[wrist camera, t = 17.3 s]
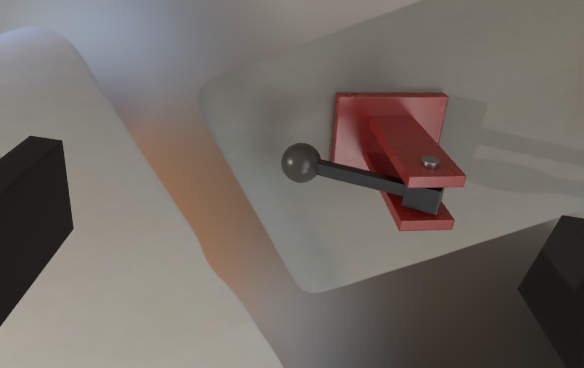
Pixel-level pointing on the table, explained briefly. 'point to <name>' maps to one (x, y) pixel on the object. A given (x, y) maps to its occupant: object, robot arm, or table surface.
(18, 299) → the robot arm
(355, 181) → the lever
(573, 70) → the table surface
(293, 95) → the table surface
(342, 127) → the bracket
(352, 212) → the table surface
